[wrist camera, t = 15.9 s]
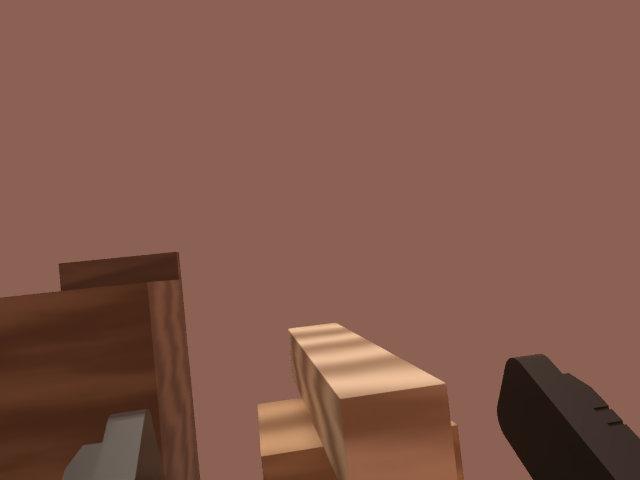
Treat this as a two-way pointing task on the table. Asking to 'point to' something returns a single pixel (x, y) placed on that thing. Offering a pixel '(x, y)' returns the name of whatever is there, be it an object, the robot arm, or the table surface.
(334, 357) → the brown wooden block
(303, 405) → the light wooden pillar block
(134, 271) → the tall walnut stand
